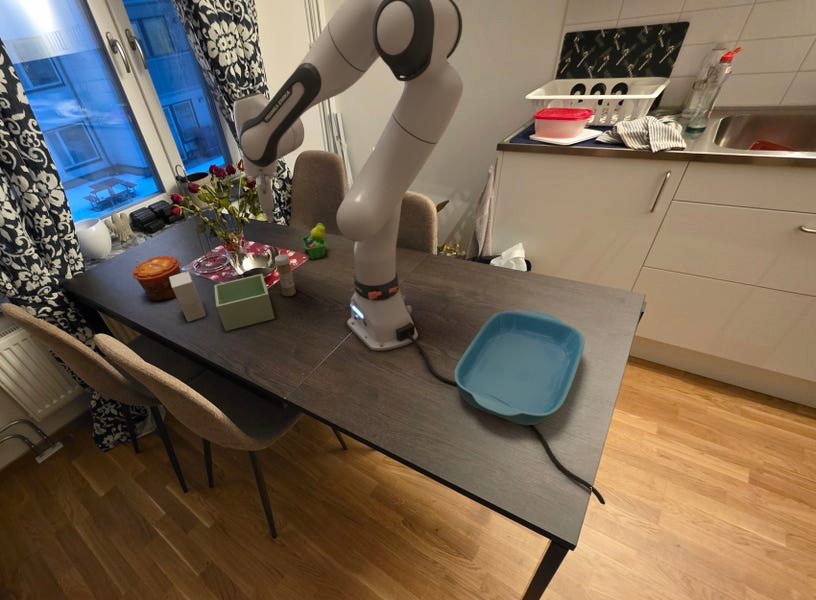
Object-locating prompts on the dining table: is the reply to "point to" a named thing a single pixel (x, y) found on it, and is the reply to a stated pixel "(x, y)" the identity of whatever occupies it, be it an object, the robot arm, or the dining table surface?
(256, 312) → the bin
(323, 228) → the fruit basket
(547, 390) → the casserole dish
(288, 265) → the sprinkles bottle
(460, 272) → the dining table surface
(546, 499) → the dining table surface
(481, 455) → the dining table surface
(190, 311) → the small box
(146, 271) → the food container
